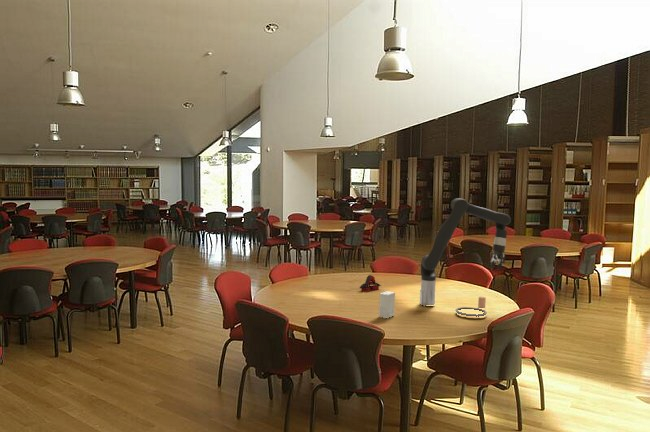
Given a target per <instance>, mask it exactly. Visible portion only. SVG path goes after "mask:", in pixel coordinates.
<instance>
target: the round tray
mask: <svg viewBox="0 0 650 432" xmlns="http://www.w3.org/2000/svg"><path fill="white" fill-rule="evenodd" d="M461 309H474V310H479V311H482V312H484V313H483V314H478V315H476V314H466V313H462V312H459V311H458V310H461ZM455 311H456V312H457V313H458V314H461V315H466V316H476V317H477V316H478V317H479V316H484V315H486V314H487V313H488V312H487V311H486V309H485V310H482V309H479V308H478V307H473V306H472V307H471V306H462V307H457V308H455Z"/></svg>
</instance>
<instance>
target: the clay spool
mask: <svg viewBox="0 0 650 432" xmlns="http://www.w3.org/2000/svg"><path fill="white" fill-rule="evenodd" d="M486 298H487V297H485V296H478V298H477V299H478V301H477V302H478V303H477V308H485V309H486V301H487V299H486Z"/></svg>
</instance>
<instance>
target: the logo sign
mask: <svg viewBox="0 0 650 432" xmlns="http://www.w3.org/2000/svg"><path fill="white" fill-rule="evenodd" d="M380 287H382V285H381V284H380V283H378V282H376V279H375V276H373V275H371V274H368V275H367V277H366V279H365V282H364V283H362V284H361V285H360V286H359V289H360V290H361V292H371V291H378V290H379V289H380Z"/></svg>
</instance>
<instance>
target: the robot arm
mask: <svg viewBox="0 0 650 432" xmlns="http://www.w3.org/2000/svg"><path fill="white" fill-rule="evenodd" d="M450 208H451V213H450V214H449V216H448V217H447V219H446V220H445V221H444V222H443V223H442V224H441V226H440V227H439V228H438V231H437V233H436V235H435V238H434V241H433V245H432V248H431V250H430V252H429V253H428V254H425V255H423V256H422V257H421V261H420V275H421V277H420V278H421V284H420V291H419V292H420V293H419V304H421V305H434V304H435V303H436V300H435V299H436V280H437V275H436V271H435V270H436V269H437V267H438V265H439V262H440V259H441V257H442V255H443V253H444V251H445V249H446V247H447V246H448V244H449V242H450V240H451V239H452V237H453V234H454V232H455V231H456V229H457V227H458V225H459V223H460V220H462V217H463V216H464V214H469V215H471V216H475V217H476V218H477V217H478V218H480V219H482V220H485V221H488V222H493V223H494V222H495V233H494V235H495V236H494V239H493V244H492V245H493V246H492V251H493V252H492V251H491V252H490V256H489V262H490V266H489V267H490V269H494V268H495V263H496V261H497V270H498V271H499V270H500V271H501V270H502V267H503V266H502V265H504V264H505V261H506V253H505V250H506V245H507V236H508V235H507V234H508V230H507V229H506V226H508V225H510V223H511V222H512V218H511V216H510V215H509V214H506V213H502V212H498V211H494V210H491V209H489V208H485V207H480V206H477V205H474V204H472V203H471V204H470V203H469V202H468V201H467V200H466V199H464V198H459V197H458V198H457V197H456V198H454V199H453V200H451V203H450ZM504 253H505V254H504ZM421 305H420V306H421Z"/></svg>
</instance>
